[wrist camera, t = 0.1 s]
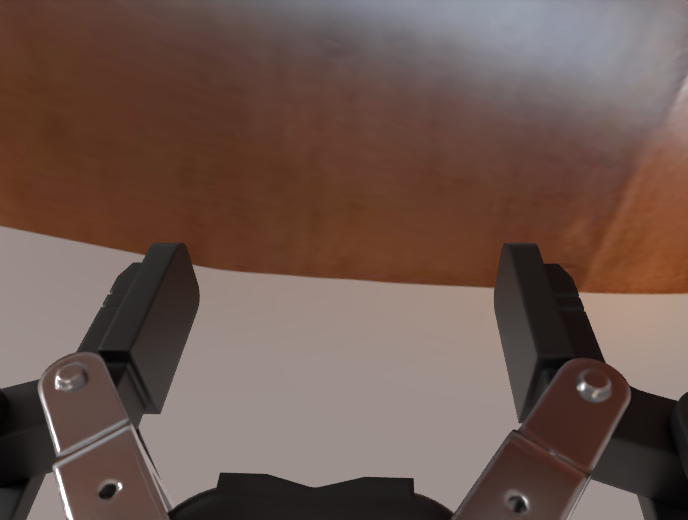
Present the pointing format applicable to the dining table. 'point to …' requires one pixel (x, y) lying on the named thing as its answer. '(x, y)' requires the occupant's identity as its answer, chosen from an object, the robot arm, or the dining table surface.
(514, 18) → the dining table surface
